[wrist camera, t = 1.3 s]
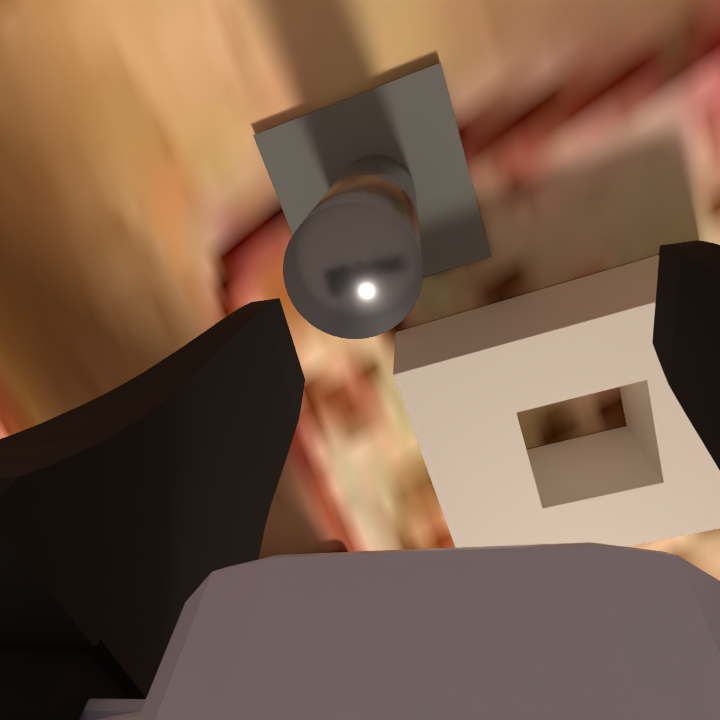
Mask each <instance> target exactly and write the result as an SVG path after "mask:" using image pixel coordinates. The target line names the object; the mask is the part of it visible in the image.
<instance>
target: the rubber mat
mask: <svg viewBox="0 0 720 720" xmlns="http://www.w3.org/2000/svg"><path fill="white" fill-rule="evenodd" d="M253 136H254V138H255V141H256V143H257V146H258V148H259V151H260V153H261V156H262V158H263V161H264V163H265V166H266V169H267V171H268V174H269V176H270V179H271V181H272V184H273V186H274V189H275V191H276V194H277V196H278V199H279V201H280V204H281V206H282V209H283V212H284V214H285V217H286V219H287V222H288V224H289V227H290V229H291V232H292V234H294V232H295V231H296V230H297V228H298V227H299V226H300V224H301V223H302V222H303V221H304V220H305V218H306V217H307V216H308V215H309V213H310V212H311V211H312V210H313V209H314V207H315V206H316V205H317V204H318V202H319V201H320V200H321V199H322V197H323V196H324V195H325V194H326V193H327V191H328V190H329V189H330V188H331V186H332V185H333V184H334V183H335V181H336V180H337V179H338V178H339V177H340V175H341V174H342V173H343V172H344V170H345V169H346V168H347V167H348V166H349V165H350V164H352V163H353V162H354V161H356V160H358V159H360V158H362V157H365V156H370V155H381V156H386V157H389V158H392V159H394V160H396V161H397V162H399V163H400V164H401V165H403V166H404V168H405V169H406V170H407V171H408V172H409V174H410V176H411V177H412V180H413V182H414V185H415V190H416V201H417V212H418V223H419V234H420V245H421V256H422V267H423V277H426V276H429V275H433V274H436V273H439V272H442V271H445V270H449V269H452V268H455V267H458V266H462V265H465V264H468V263H471V262H474V261H478V260H481V259H484V258H487V257H490V256H491V254H490V250H489V246H488V243H487V239H486V235H485V231H484V227H483V223H482V220H481V216H480V212H479V208H478V204H477V200H476V196H475V193H474V189H473V185H472V181H471V177H470V173H469V170H468V166H467V162H466V158H465V154H464V150H463V146H462V143H461V139H460V135H459V131H458V127H457V123H456V120H455V116H454V112H453V108H452V104H451V100H450V97H449V93H448V89H447V85H446V81H445V77H444V73H443V70H442V66H441V63H438V64H436V65H433V66H430V67H428V68H425V69H423V70H420V71H418V72H415V73H412V74H410V75H407V76H405V77H402V78H400V79H397V80H394V81H392V82H389V83H387V84H384V85H382V86H379V87H376V88H374V89H371V90H369V91H366V92H364V93H361V94H358V95H356V96H353V97H351V98H348V99H346V100H343V101H340V102H338V103H335V104H333V105H330V106H328V107H325V108H322V109H320V110H317V111H315V112H312V113H310V114H307V115H304V116H302V117H299V118H297V119H294V120H291V121H289V122H286V123H284V124H281V125H279V126H276V127H273V128H271V129H268V130H266V131H263V132H261V133H258V134H255V135H253Z"/></svg>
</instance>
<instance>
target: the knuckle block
mask: <svg viewBox="0 0 720 720" xmlns="http://www.w3.org/2000/svg"><path fill="white" fill-rule="evenodd" d="M658 264H659V255H657V256H653V257H650V258H646V259H643V260H640V261H636V262H633V263H629V264H626V265H622V266H619V267H616V268H612V269H609V270H605V271H602V272H599V273H595V274H592V275H588V276H585V277H582V278H578V279H575V280H571V281H568V282H565V283H561V284H558V285H554V286H551V287H548V288H544V289H541V290H537V291H534V292H531V293H527V294H524V295H520V296H517V297H514V298H510V299H507V300H503V301H500V302H496V303H493V304H490V305H486V306H483V307H479V308H476V309H473V310H469V311H466V312H462V313H459V314H456V315H452V316H449V317H445V318H442V319H439V320H435V321H432V322H428V323H425V324H422V325H418V326H415V327H411V328H408V329H405V330H401V331H398V332H395V351H394V372H393V375H394V378H395V381H396V384H397V386H398V389H399V392H400V395H401V397H402V400H403V403H404V406H405V409H406V411H407V414H408V417H409V420H410V422H411V425H412V428H413V431H414V434H415V436H416V439H417V442H418V445H419V447H420V450H421V453H422V456H423V459H424V461H425V464H426V467H427V470H428V472H429V475H430V478H431V481H432V484H433V486H434V489H435V492H436V495H437V497H438V500H439V503H440V506H441V509H442V511H443V514H444V517H445V520H446V522H447V525H448V528H449V531H450V534H451V536H452V539H453V542H454V545H455V547H456V548H461V547H487V546H512V545H537V544H562V543H588V542H591V543H599V544H607V545H615V546H623V547H627V546H632V545H637V544H642V543H647V542H653V541H658V540H663V539H668V538H673V537H678V536H683V535H688V534H693V533H698V532H704V531H709V530H714V529H719V528H720V470H719V469H718V467H717V465H716V464H715V462H714V460H713V459H712V457H711V455H710V454H709V452H708V450H707V449H706V447H705V445H704V444H703V442H702V440H701V439H700V437H699V435H698V434H697V432H696V430H695V429H694V427H693V426H692V424H691V422H690V421H689V419H688V417H687V416H686V414H685V412H684V410H683V409H682V407H681V405H680V404H679V402H678V400H677V399H676V397H675V395H674V393H673V392H672V390H671V388H670V386H669V385H668V382H667V380H666V377H665V375H664V372H663V370H662V367H661V365H660V362H659V360H658V357H657V354H656V351H655V349H654V346H653V343H652V341H653V328H654V315H655V302H656V290H657V277H658ZM616 387H619V389H620V394H621V399H622V405H623V410H624V416H625V421H626V426H624V427H620V428H616V429H611V430H607V431H603V432H599V433H595V434H590V435H586V436H582V437H578V438H573V439H569V440H565V441H561V442H557V443H552V444H548V445H544V446H540V447H536V448H531V449H527V450H526V446H525V443H524V439H523V435H522V432H521V428H520V424H519V421H518V417H517V412H521V411H525V410H529V409H533V408H537V407H541V406H545V405H549V404H553V403H557V402H561V401H565V400H569V399H573V398H577V397H581V396H585V395H589V394H593V393H597V392H601V391H605V390H609V389H613V388H616Z"/></svg>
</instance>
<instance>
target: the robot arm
mask: <svg viewBox="0 0 720 720" xmlns="http://www.w3.org/2000/svg"><path fill="white" fill-rule="evenodd" d="M652 343H653V346H654V349H655V351H656V354H657V357H658V360H659V362H660V365H661V367H662V370H663V372H664V375H665V377H666V380H667V382H668V385H669V386H670V388H671V390H672V392H673V393H674V395H675V397H676V399H677V400H678V402H679V404H680V405H681V407H682V409H683V410H684V412H685V414H686V416H687V417H688V419H689V421H690V422H691V424H692V426H693V427H694V429H695V430H696V432H697V434H698V435H699V437H700V439H701V440H702V442H703V444H704V445H705V447H706V449H707V450H708V452H709V454H710V455H711V457H712V459H713V460H714V462H715V464H716V465H717V467H718V469H719V470H720V245H718V244H714V243H710V242H705V241H698V240H697V241H690V242H683V243H676V244H668V245H661V246H660V252H659V264H658V277H657V290H656V302H655V315H654V328H653V341H652ZM304 383H305V378H304V375H303V372H302V369H301V366H300V362H299V359H298V356H297V353H296V350H295V346H294V343H293V340H292V337H291V334H290V330H289V327H288V324H287V321H286V318H285V315H284V311H283V308H282V305H281V302H280V299H279V298H278V299H271V300H264V301H257V302H251V303H249V304H247V305H245V306H243V307H241V308H239V309H238V310H236V311H234V312H233V313H231V314H230V315H228V316H227V317H225V318H224V319H222V320H221V321H219V322H218V323H217V324H215V325H214V326H212V327H211V328H209V329H208V330H207V331H205V332H204V333H202V334H201V335H199V336H198V337H197V338H195V339H194V340H192V341H191V342H189V343H188V344H187V345H185V346H184V347H182V348H181V349H179V350H177V351H176V352H174V353H173V354H171V355H170V356H168V357H167V358H165V359H164V360H162V361H161V362H159V363H157V364H156V365H154V366H153V367H151V368H150V369H148V370H147V371H145V372H143V373H142V374H140V375H138V376H137V377H135V378H133V379H132V380H130V381H128V382H126V383H125V384H123V385H121V386H119V387H117V388H115V389H113V390H111V391H110V392H108V393H106V394H104V395H102V396H100V397H98V398H96V399H94V400H92V401H90V402H88V403H86V404H84V405H81V406H79V407H77V408H75V409H72V410H70V411H68V412H66V413H64V414H61V415H59V416H57V417H55V418H52V419H50V420H48V421H46V422H44V423H41V424H39V425H36V426H34V427H31V428H29V429H26V430H23V431H21V432H18V433H16V434H13V435H11V436H8V437H5V438H2V439H0V720H720V581H719V580H717V579H716V578H714V577H712V576H711V575H709V574H707V573H706V572H704V571H702V570H701V569H699V568H697V567H696V566H694V565H693V564H691V563H689V562H688V561H686V560H684V559H683V558H681V557H679V556H678V555H674V554H670V553H666V552H662V551H654V550H646V549H638V548H631V547H623V546H615V545H607V544H599V543H591V542H588V543H562V544H537V545H512V546H487V547H461V548H436V549H411V550H386V551H360V552H335V553H310V554H285V555H274V556H270V557H266V558H262V559H258V558H259V553H260V548H261V543H262V538H263V533H264V529H265V524H266V521H267V517H268V513H269V510H270V506H271V503H272V500H273V497H274V494H275V491H276V488H277V485H278V482H279V479H280V476H281V473H282V470H283V467H284V464H285V461H286V458H287V455H288V452H289V448H290V445H291V442H292V439H293V436H294V433H295V430H296V426H297V423H298V420H299V415H300V409H301V404H302V397H303V390H304Z"/></svg>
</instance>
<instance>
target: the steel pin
mask: <svg viewBox="0 0 720 720" xmlns="http://www.w3.org/2000/svg"><path fill="white" fill-rule="evenodd" d="M283 274H284V282H285V287H286V290H287V292H288V295H289V297H290V299H291V301H292V303H293V305H294V306H295V308H296V309H297V311H298V312H299V313H300V314H301V315H302V317H303V318H305V319H306V320H307V321H308V322H309V323H310V324H312V325H313V326H314V327H316V328H317V329H319V330H321V331H323V332H325V333H328V334H330V335H333V336H337V337H340V338H347V339H362V338H369V337H373V336H377V335H379V334H382V333H384V332H386V331H388V330H390V329H392V328H393V327H395V326H396V325H398V324H399V323H400V322H401V321H402V320H403V319H404V318H405V317H406V316H407V315H408V314H409V312H410V311H411V309H412V308H413V306H414V305H415V303H416V301H417V299H418V296H419V293H420V290H421V285H422V280H423V267H422V256H421V245H420V234H419V223H418V212H417V201H416V190H415V185H414V182H413V180H412V177H411V176H410V174H409V172H408V171H407V170H406V169H405V168H404V166H403V165H401V164H400V163H399V162H397V161H396V160H394V159H392V158H389V157H386V156H381V155H370V156H365V157H362V158H360V159H358V160H356V161H354V162H353V163H352V164H350V165H349V166H348V167H347V168H346V169H345V170H344V172H343V173H342V174H341V175H340V177H339V178H338V179H337V180H336V181H335V183H334V184H333V185H332V186H331V188H330V189H329V190H328V191H327V193H326V194H325V195H324V196H323V197H322V199H321V200H320V201H319V202H318V204H317V205H316V206H315V207H314V209H313V210H312V211H311V212H310V213H309V215H308V216H307V217H306V218H305V220H304V221H303V222H302V223H301V224H300V226H299V227H298V228H297V230H296V231H295V232H294V234H293V235H292V237H291V239H290V241H289V243H288V246H287V249H286V252H285V257H284V264H283Z"/></svg>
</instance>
